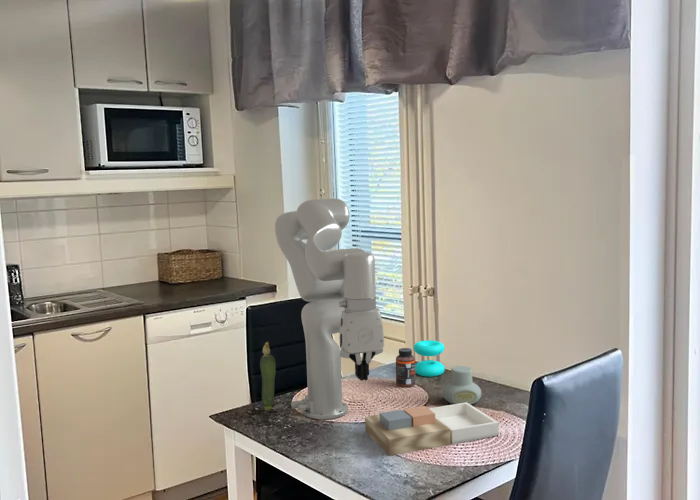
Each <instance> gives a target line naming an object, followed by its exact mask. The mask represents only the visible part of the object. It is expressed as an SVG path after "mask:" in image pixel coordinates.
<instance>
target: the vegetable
mask: <svg viewBox="0 0 700 500" xmlns="http://www.w3.org/2000/svg"><path fill="white" fill-rule="evenodd" d="M269 344H270V343H269V341H266V342H265V343H264V345H263V347H262V354H263V355H262V356H261V358H260V360H259V369H260V374H261V402H262V406H263V408H264V411H265V412H267V411H271V410H272V409H273V405H274V401H275V378H276V370H277V369H276V367H277V364H276V359H275V356H273V355H272V354H271V349H270V345H269Z"/></svg>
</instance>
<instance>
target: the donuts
mask: <svg viewBox="0 0 700 500" xmlns="http://www.w3.org/2000/svg"><path fill="white" fill-rule="evenodd" d="M413 351H414V352H415V353H416V354H417V355H419V356H423V357H436V356H438V355H441V354H443V352H444V351H445V345H444V343H442V342H440V341H438V340H430V339H429V340H427V339H426V340H420V341H416V343H414V344H413ZM445 368H446V367H445V366H444V364H443V363H441V362H440V361H437V360H434V359H426V360H425V359H424V360H420V361H418V362H417V363H416V362H415V375H418V376H421V377H428V378H432V377H437V376H438V377H439V376H441V375H443V374H444V372H445Z"/></svg>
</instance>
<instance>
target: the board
mask: <svg viewBox="0 0 700 500" xmlns="http://www.w3.org/2000/svg"><path fill="white" fill-rule="evenodd" d="M364 422H365V424H364V425H365V426H364V427H365V430H364V432H365V433H366V434H367V435H368V436H369V437H370V438H371V440H373V441H374V442H375V443H376V444H377V445H378V446H379V447H381V449H383V451H384V452H386V453H387V454H388V456H394V455H395V456H396V455H400V454H407V453H411V452H412V453H413V452H418V451H423V450H428V449H434V448H440V447H445V446H450V445H451V443H450V428H448V427H447V426H446V425H444V424H443V423H442V422H440V421H439V420H438V419H436V418H435V423H431V424H425V425H419V426H412V427H407V428H401V429H396V430H390V431H389V430H388V429H387V428H386V427H384V426H383V425H382V424H381V423H380V415H379V414H374V415H373V414H372V415H368V416H364Z"/></svg>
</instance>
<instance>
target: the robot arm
mask: <svg viewBox="0 0 700 500" xmlns="http://www.w3.org/2000/svg"><path fill="white" fill-rule="evenodd" d="M350 216H351V215H350V209H349V207H348V205H347V204H346V202H345V201H344V200H342V199H340V198H320V199H318V198H317V199H309V200H305V201H303V202H302V203H300V205H298V207H297V209H296V210H292V211H287V212H284V213H282V214H280V215H279V216H278V217H277V218H276V219H275V223H274V232H275V237H276V242H277V244H278V246H279V248H280V251H281V252H282V254H283V255H284V256H285V258H286V261H287V262H288V264H289V267H290V270H291V273H292V276H293V279H294V283H295V286H296V289H297V291H298V294H299V296H300V298H301V299H302V300H303V301H305V302H308V303H306V304H305V305H304V306H303V307H302V309H301V314H300V315H301V323H302V327H303V333H304V334H303V335H304V340H305V354H306V356H305V357H306V378H307V379H306V382H307V394H304V398H302V399H301V400H294V401H293V400H292V401H290V405H291V406H290V407H291V409H298V410H302V413H303V415H304V416H306V417H308V418H310V419H315V420H331V419H332V420H333V419H337V418H340V417H342V416H345V415H346V414H347V413H348V412H349V406H348V405H347V404H346V403H345V402H343V388H342V387H343V386H342V385H343V381H342V358H343V359H350V360H352V362H354V371H355V372H354V373H355V374H354V376H355V377H356V378H357V379H358V380H360V381H362V382H363V381H364V380H365V381H368V378H369V377H368V376H369V375H370V364H371V363H372V359H373V358H374V357H375V356H378V355H380V354H382V353H383V351H384V348H385V333H384V327H383V321H382V314H381V309H379V308H378V307H377V294H376V262H375V261H376V259H375V256H374V254H372V252H366V251H365V250H364V249H362V248H357V247H356V248H355V247H353V248H340V249H339V248H338V249H333V248H335V246H337V244H339V242H340V241H341V239H342V236H343V235H342V233H343V232H342V231H343V230H344V229H345V228H346V227H347V226H348V224H349V221H350ZM305 240H306V243H305V242H304V241H305ZM335 334H339V337H338V338H339V341H338V342H339V344H338V343H337V341H336V340H335V339H334V338H333V336H332V335H335ZM361 354H362V356H361Z"/></svg>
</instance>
